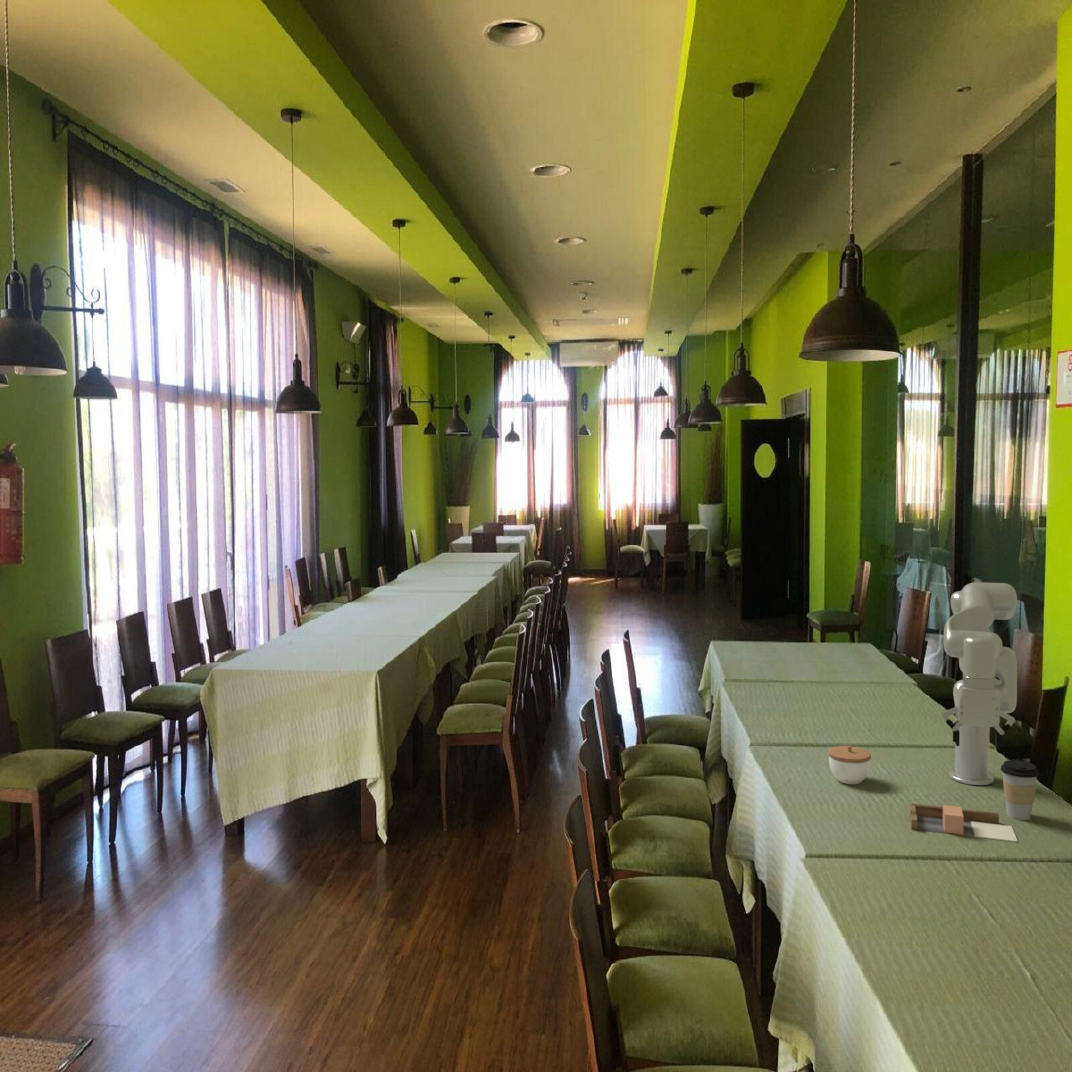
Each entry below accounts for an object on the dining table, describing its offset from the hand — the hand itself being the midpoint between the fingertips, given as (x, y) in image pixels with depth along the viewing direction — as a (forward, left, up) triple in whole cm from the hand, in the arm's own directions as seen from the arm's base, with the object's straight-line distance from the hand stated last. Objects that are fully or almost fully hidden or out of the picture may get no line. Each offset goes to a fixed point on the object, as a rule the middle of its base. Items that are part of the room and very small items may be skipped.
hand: (977, 746), depth 229 cm
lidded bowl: (-32, -32, -25) cm, 52 cm away
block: (-2, -5, -24) cm, 25 cm away
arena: (-4, -2, -24) cm, 25 cm away
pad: (-3, +5, -24) cm, 25 cm away
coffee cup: (-17, +13, -25) cm, 32 cm away
